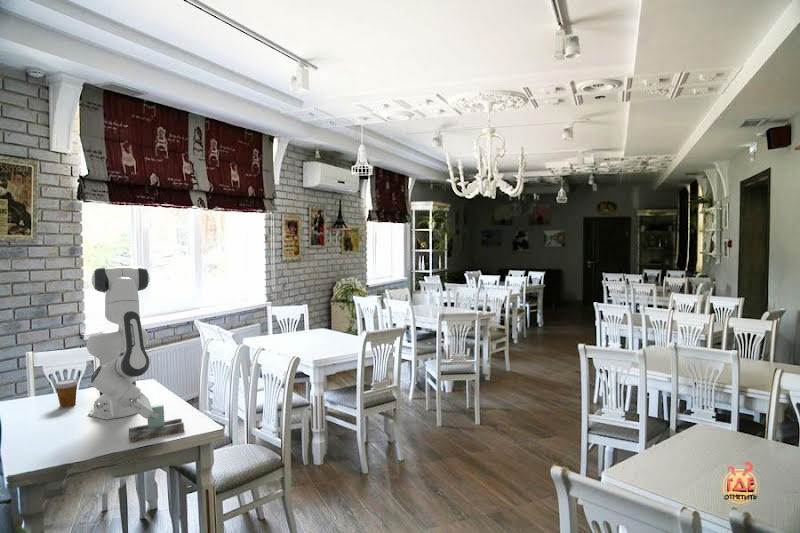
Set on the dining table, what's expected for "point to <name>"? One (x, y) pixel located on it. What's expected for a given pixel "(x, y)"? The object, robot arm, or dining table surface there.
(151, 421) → the green rectangular box
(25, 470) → the dining table surface
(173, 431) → the rail
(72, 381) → the disposable coffee cup
